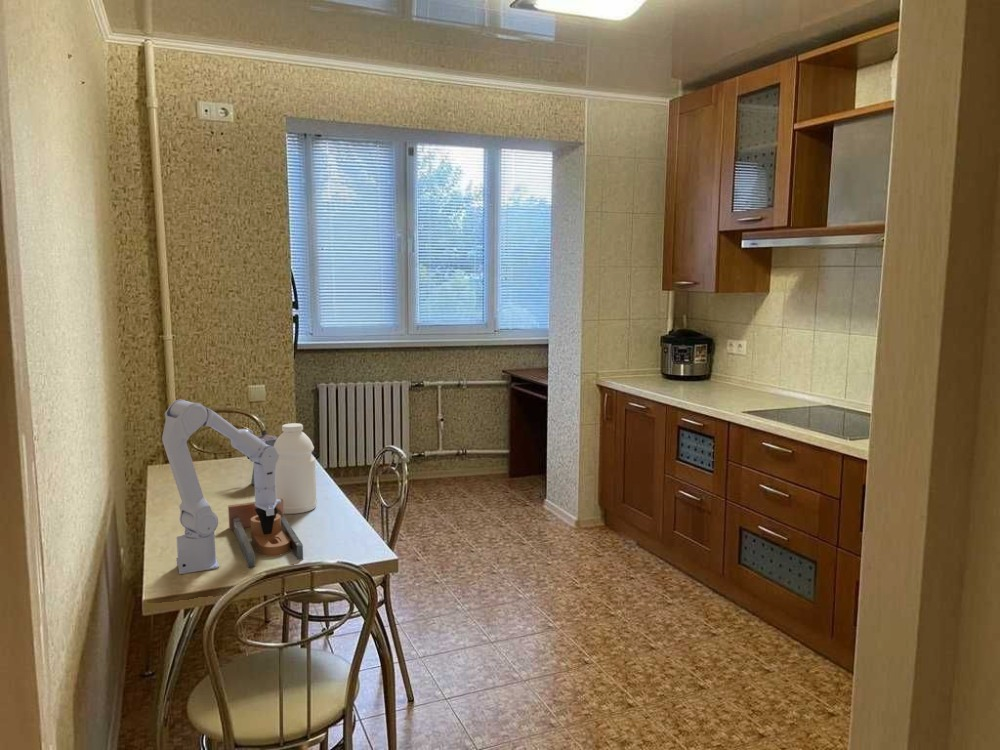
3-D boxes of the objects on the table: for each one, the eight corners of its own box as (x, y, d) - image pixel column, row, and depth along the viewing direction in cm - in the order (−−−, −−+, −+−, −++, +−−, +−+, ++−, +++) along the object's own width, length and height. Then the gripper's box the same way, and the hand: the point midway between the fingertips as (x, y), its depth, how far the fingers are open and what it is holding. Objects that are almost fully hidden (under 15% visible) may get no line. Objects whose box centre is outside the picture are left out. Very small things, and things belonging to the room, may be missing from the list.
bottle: (321, 501, 250) (318, 420, 247) (312, 514, 237) (309, 428, 233) (279, 502, 250) (276, 421, 246) (268, 514, 236) (264, 429, 233)
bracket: (248, 539, 214) (247, 516, 214) (277, 534, 219) (276, 511, 218) (263, 558, 199) (262, 534, 198) (294, 553, 203) (293, 529, 202)
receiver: (244, 568, 192) (243, 542, 191) (228, 527, 224) (227, 505, 223) (306, 558, 199) (305, 533, 198) (282, 520, 231) (282, 498, 230)
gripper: (284, 491, 201) (286, 539, 202) (275, 478, 214) (277, 523, 215) (257, 494, 198) (260, 543, 199) (250, 481, 210) (252, 527, 212)
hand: (267, 533), depth 207 cm, fingers closed
